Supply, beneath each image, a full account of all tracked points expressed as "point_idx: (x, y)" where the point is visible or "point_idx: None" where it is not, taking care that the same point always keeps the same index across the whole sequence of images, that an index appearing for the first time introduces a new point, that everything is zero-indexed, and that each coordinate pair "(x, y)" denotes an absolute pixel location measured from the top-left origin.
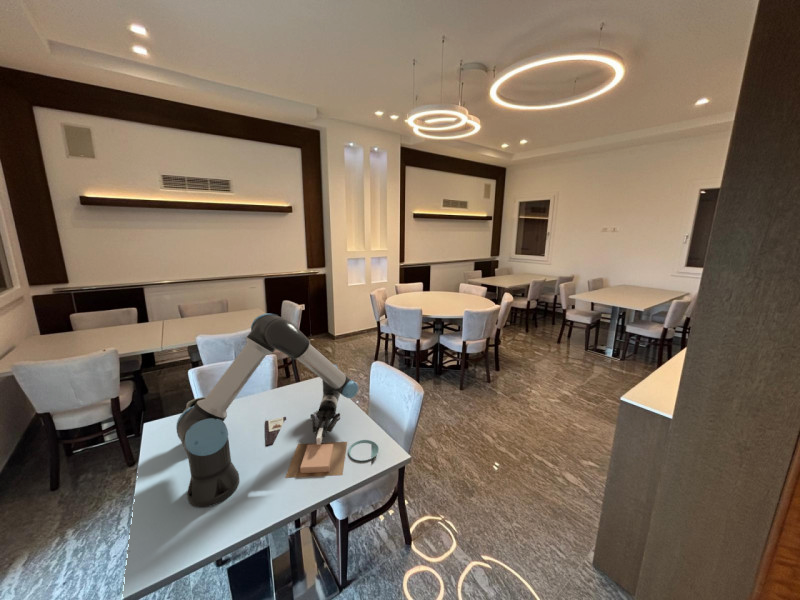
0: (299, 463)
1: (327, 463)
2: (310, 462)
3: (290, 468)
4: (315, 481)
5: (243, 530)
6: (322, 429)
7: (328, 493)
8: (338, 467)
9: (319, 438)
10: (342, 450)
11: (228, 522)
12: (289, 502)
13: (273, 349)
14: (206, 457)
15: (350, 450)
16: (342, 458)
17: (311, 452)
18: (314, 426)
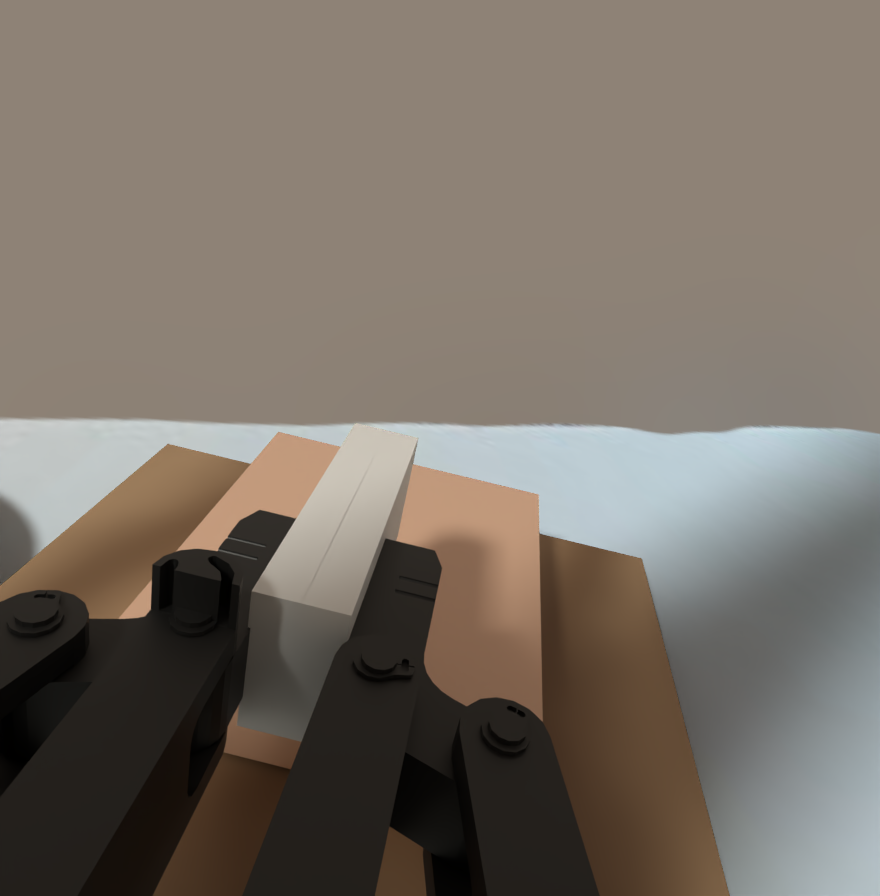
0: (569, 648)
1: (282, 451)
2: (450, 502)
3: (640, 624)
4: None
5: (699, 445)
6: (283, 550)
7: (304, 433)
8: (169, 496)
9: (367, 431)
10: None
11: (800, 486)
12: (537, 465)
13: None
14: None
15: None
16: (68, 557)
17: (455, 600)
18: (495, 716)
